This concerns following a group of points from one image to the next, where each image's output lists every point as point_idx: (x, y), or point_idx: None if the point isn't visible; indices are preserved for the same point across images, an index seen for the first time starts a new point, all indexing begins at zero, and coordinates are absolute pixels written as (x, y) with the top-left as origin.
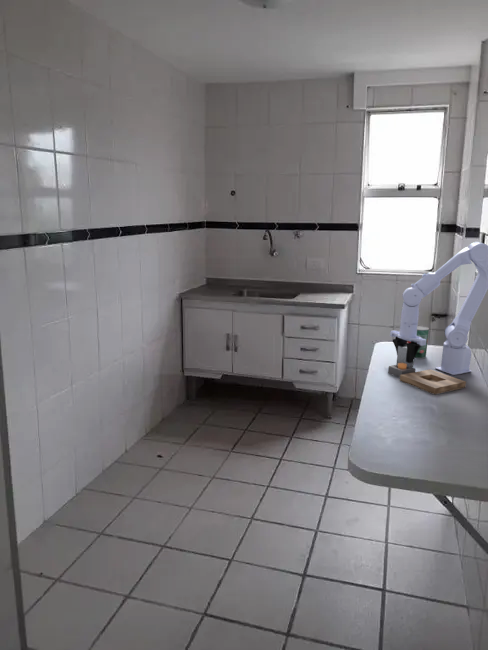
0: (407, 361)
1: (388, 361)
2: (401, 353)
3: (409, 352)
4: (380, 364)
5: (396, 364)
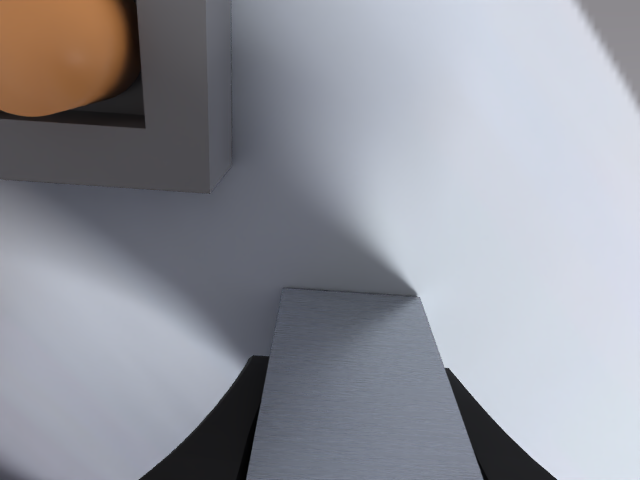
0: None
1: (571, 335)
2: (370, 405)
3: (196, 450)
4: (567, 153)
5: (420, 302)
